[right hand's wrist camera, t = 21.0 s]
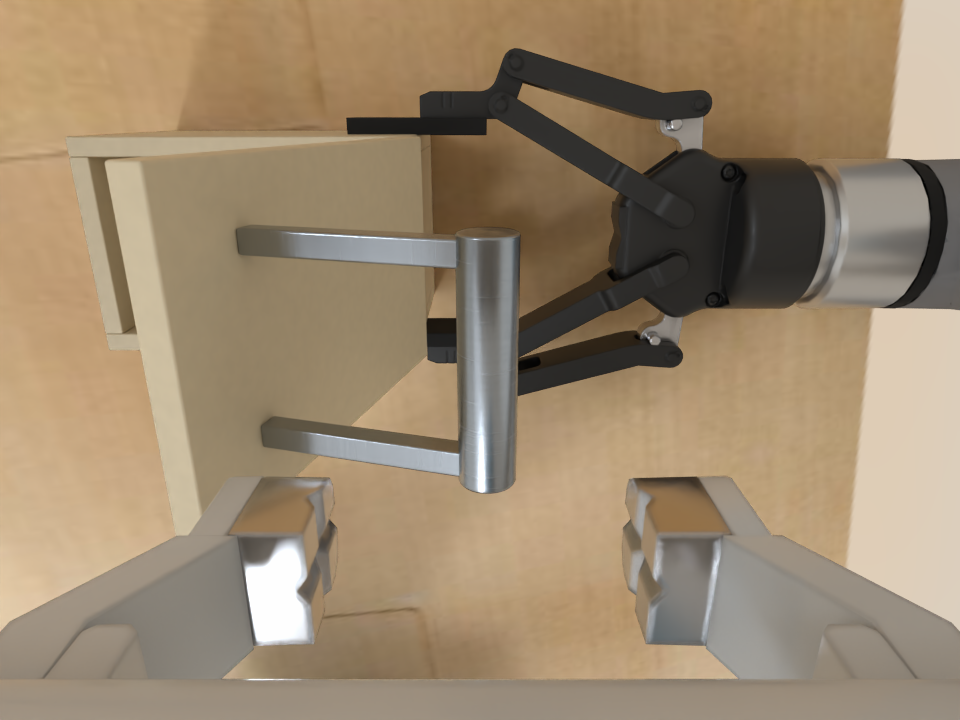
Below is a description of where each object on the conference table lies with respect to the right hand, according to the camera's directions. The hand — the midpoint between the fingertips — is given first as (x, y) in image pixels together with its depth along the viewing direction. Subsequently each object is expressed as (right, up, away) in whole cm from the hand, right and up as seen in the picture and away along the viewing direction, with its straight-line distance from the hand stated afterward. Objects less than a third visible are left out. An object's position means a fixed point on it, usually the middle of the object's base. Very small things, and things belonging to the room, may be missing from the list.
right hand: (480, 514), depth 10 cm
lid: (-6, +5, +12) cm, 14 cm away
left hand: (-6, +9, +24) cm, 26 cm away
